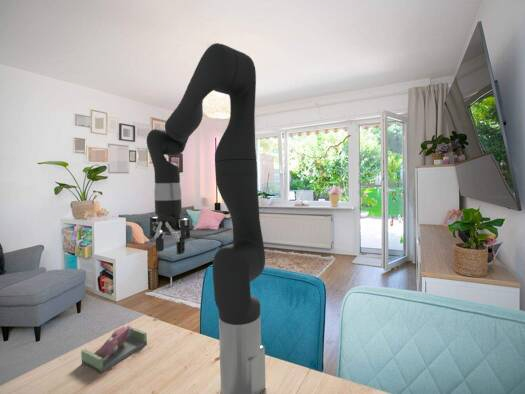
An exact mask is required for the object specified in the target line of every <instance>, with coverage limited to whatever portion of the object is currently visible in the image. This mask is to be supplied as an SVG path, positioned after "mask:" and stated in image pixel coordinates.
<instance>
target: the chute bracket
mask: <svg viewBox="0 0 525 394" xmlns="http://www.w3.org/2000/svg"><path fill="white" fill-rule="evenodd" d="M127 327H130V328H132V332H131V334H130V335H129V337H128V338H127V339H126V341H125V342H124V345H123V346H121V347H120V348H119V347H118V348H117V350H116V352H115V353H114V354H113V355H110V354H109V355H107V356H106V357H105V358H102V357H100V356H98V355H96V354H94V353H95V352H92V351H90V350H87V349H85V348H84V349H82V350H81V351H80V352H81V353H80V354H81V364H82V365H84V366H85V367H87V368H89V369H91V370H93V371H95V372H97V373H98V374H101V373H103V372H105V371H106V370H108V369H109V368H111V367H113V366H114V365H116V364H118V363H119V362H121V361H122V360H124V359H125V358H127V357H128V356H130V355H132V354H133V353H136V352H137V351H138V350H140V349H141V348H143V347H145V346H147V345H148V344H147V343H148V340H147V339H148V338H147V336H148V335H147V332H146V331H144V330H140V329H139V328H135V327H132V326H130V325H127Z"/></svg>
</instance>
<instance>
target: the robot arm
mask: <svg viewBox="0 0 525 394" xmlns="http://www.w3.org/2000/svg"><path fill="white" fill-rule="evenodd" d="M256 87H257V71H256V65H255V63H254V61H253V59H252V58H251V56H249V55H248V54H247V53H244V52H242V51H239V50H237V49H235V48H233V47H231V46H229V45H226V44H223V43H220V42H218V43H217V42H215V43H212V44H211V45H209V46H208V47H207V48H206V50H205V51H204V52H203V54H202V56H201V57H200V60H199V62H198V63H197V65H196V68H195V69H194V72H193V74H192V77H191V78H190V80H189V83H188V85H187V87H186V89H185V91H184V94H183V96H182V98H181V100H180V102H179V103H178V105H177V107H175V109H174V110H173V112H172V113H171V114H170V116H169V117H168V118H167V119H166V121H165V123H164V129H155V128H154V129H151V130H150V131H149V132H148V134H147V137H146V146H147V149H148V153H149V156H150V158H151V159H150V160H151V163H152V166H153V170H154V195H153V196H154V213H155V215H156V216H153V217H150V218H149V236H150V237H151V238H154V240H155V250H156V252H163V251H164V249H165V245H164V238H163V237H164V236H165V235H166V233H167V234H171V236H173V237H174V239H175V240H176V255H180V256H181V255H183V254H184V253H185V249H186V248H185V242H186V241H187V240H190V239H191V232H190V231H191V230H190V229H191V228H190V220H189V218H183V219H182V218H181V214H182V213H183V207H182V204H183V203H182V188H181V175H180V165H178V164H176V163H174V162H171V161H168V160H167V158H166V157H165V156H178V155H181V154H182V153H184V151H185V148H186V145H187V143H188V141H189V138H190V136H191V135H192V134H193V133H194V132H195V131H196V130H197V129H198V127H199V126H200V125H201V123H202V120H203V117H204V116H203V115H204V114H203V112H204V109H203V107H204V106H203V102H204V100H205V98H206V97H207V96H208V95H209V94H210V93H211V92H213V91H214V92H217V93H220V94H225V95H227V96H229V103H230V113H229V115H230V116H229V121H228V123H227V126H226V127H225V131H223V135H222V136H221V138H220V140H219V142H218V144H217V146H216V148H215V153H214V170H215V171H214V173H215V182H216V186H217V189H218V193H219V194H220V196H221V199H222V201H223V203H224V205H225V206H226V208H227V210H228V213H229V215H230V219H231V224H232V238H233V239H232V243H231V244H228V245H225V246H223V247H221V248H219V249H218V250H217V251H216V253H215V254H214V256H213V260H212V281H213V283H212V284H213V293H214V294H213V296H214V302H215V306H216V308H217V310H218V328H219V329H218V330H219V331H218V332H219V373H220V394H262V392H263V391H264V389H265V388H266V347H265V346H264V345H262V331H261V329H262V328H261V326H262V323H261V321H262V320H261V319H262V318H261V302H260V300H259V299H258V298H257V297H255V296H253V295H251V282H252V281H254V280H255V279H257V278H258V277H259V276H260V275H261V274H262V273H263V272H264V269H265V265H266V252H265V246H264V240H263V239H264V238H263V233H262V227H261V226H262V225H261V219H260V203H259V189H258V165H257V164H258V162H257V151H256V124H255V121H256V120H255V117H256V116H255V111H256V110H255V109H256V90H257V88H256Z"/></svg>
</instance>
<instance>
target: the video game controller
mask: <svg viewBox="0 0 525 394" xmlns="http://www.w3.org/2000/svg"><path fill="white" fill-rule="evenodd" d="M130 327H131V326H130ZM130 327H128V326H126V325H123V326H122V327H120V328H117V329H116V330H115V331H113V333H112V334H111V335H110V336H109V338H108V339H107V340H106V341H105V342H104V343H103V345H102V346H101V347H100V348H99V349H97V350H96V351H95V352H93V353H94V354H96V355H98V356H100V357H102V358H105V357H106V356H107V355H109V354H110V355H113V354H114V353H115V352H116V350H117V348H118V347H119V348H120V347H121V346H123V345H124V342H125V341H126V339H127V338H128V337H129V335H130V334H131V332H132V328H130Z"/></svg>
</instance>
